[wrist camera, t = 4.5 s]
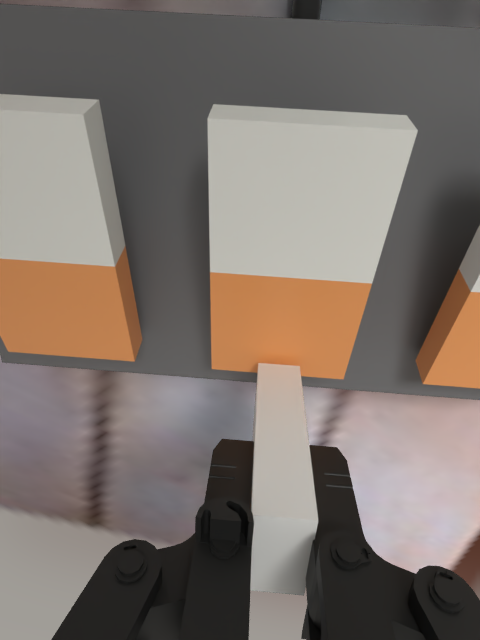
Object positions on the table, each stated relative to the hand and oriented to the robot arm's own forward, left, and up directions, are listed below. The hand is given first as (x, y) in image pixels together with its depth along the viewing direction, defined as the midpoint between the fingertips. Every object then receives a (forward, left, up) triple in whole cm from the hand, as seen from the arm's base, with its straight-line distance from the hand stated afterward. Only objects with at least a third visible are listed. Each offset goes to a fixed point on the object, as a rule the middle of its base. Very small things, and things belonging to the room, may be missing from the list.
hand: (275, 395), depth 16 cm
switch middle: (-5, 0, -1) cm, 5 cm away
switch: (-5, -8, -1) cm, 10 cm away
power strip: (-10, 0, -6) cm, 11 cm away
